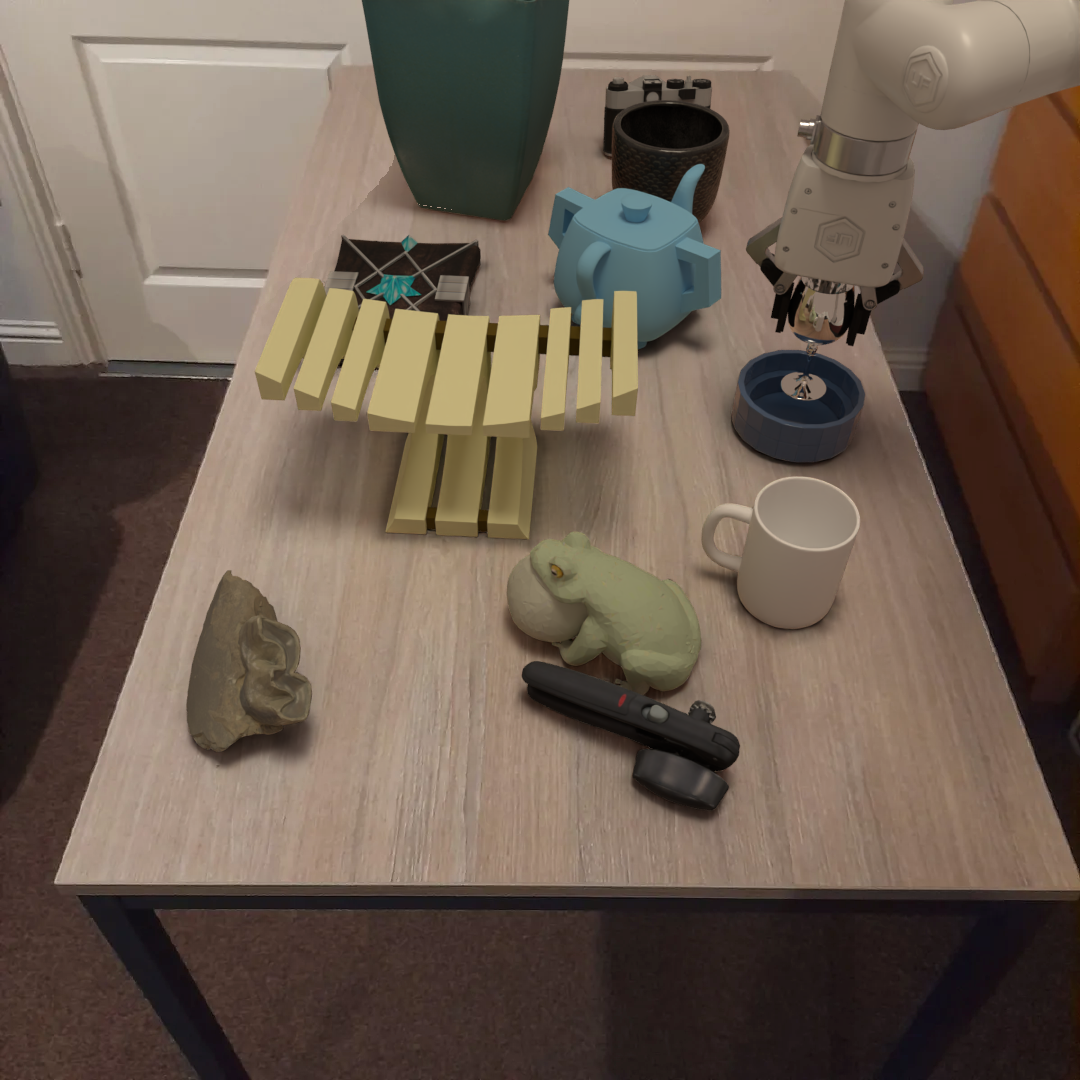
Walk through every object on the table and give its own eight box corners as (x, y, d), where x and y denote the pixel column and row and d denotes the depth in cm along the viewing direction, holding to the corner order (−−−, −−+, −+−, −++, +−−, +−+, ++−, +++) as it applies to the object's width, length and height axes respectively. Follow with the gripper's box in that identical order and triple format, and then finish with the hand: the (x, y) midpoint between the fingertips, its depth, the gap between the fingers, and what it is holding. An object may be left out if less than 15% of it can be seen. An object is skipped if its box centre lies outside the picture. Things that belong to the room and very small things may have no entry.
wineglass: (761, 384, 98) (781, 277, 90) (799, 361, 101) (822, 255, 92) (807, 413, 95) (832, 305, 87) (845, 388, 98) (874, 281, 89)
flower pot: (569, 168, 138) (577, -61, 118) (533, 242, 125) (534, -1, 104) (432, 150, 141) (415, -76, 121) (382, 221, 128) (354, -19, 108)
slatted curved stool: (622, 428, 101) (636, 274, 88) (622, 543, 90) (637, 388, 77) (328, 414, 102) (299, 260, 89) (293, 527, 91) (254, 371, 78)
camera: (694, 135, 148) (700, 62, 142) (710, 156, 139) (717, 78, 133) (596, 138, 147) (598, 64, 141) (605, 159, 139) (608, 81, 133)
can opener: (748, 757, 76) (761, 717, 71) (709, 830, 72) (720, 791, 67) (548, 656, 82) (549, 613, 78) (501, 717, 78) (500, 675, 74)
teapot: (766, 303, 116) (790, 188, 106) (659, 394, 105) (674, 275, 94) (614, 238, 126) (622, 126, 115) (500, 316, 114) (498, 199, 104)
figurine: (534, 565, 89) (534, 484, 81) (713, 626, 84) (730, 546, 77) (483, 650, 82) (479, 570, 75) (673, 720, 78) (689, 643, 70)
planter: (737, 223, 129) (753, 124, 119) (669, 265, 122) (681, 164, 112) (652, 185, 135) (662, 89, 126) (584, 223, 128) (588, 124, 119)
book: (460, 376, 107) (457, 337, 103) (303, 368, 107) (295, 330, 104) (481, 265, 121) (480, 228, 118) (344, 259, 122) (338, 222, 118)
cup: (824, 643, 83) (852, 562, 76) (683, 604, 86) (697, 522, 78) (838, 572, 88) (866, 490, 81) (705, 538, 91) (721, 455, 84)
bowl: (858, 401, 104) (870, 362, 101) (846, 478, 97) (859, 439, 93) (741, 378, 107) (749, 340, 103) (721, 452, 99) (728, 413, 95)
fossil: (344, 715, 81) (322, 709, 71) (222, 772, 79) (182, 774, 70) (277, 558, 83) (247, 531, 73) (158, 611, 82) (111, 591, 72)
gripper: (748, 148, 79) (716, 337, 92) (974, 181, 76) (908, 372, 89) (762, 108, 84) (730, 293, 97) (975, 138, 81) (912, 325, 94)
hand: (816, 329), depth 93 cm, fingers closed on wineglass, 5 cm apart
